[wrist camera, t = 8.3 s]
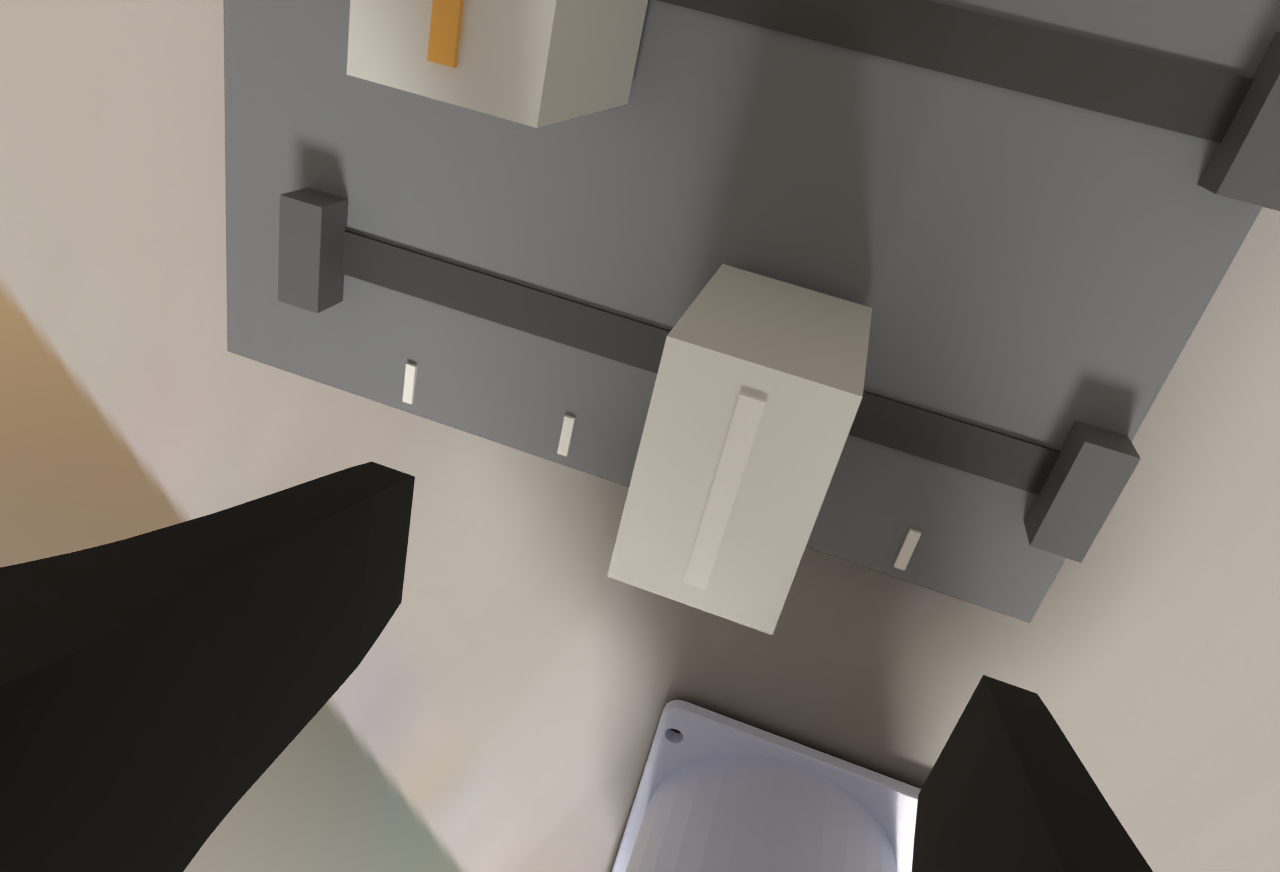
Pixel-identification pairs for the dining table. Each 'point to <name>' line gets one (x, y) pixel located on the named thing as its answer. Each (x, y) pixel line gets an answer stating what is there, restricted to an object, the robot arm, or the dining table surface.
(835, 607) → the dining table surface
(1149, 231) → the console board
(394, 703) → the dining table surface
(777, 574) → the fader knob
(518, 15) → the fader knob
